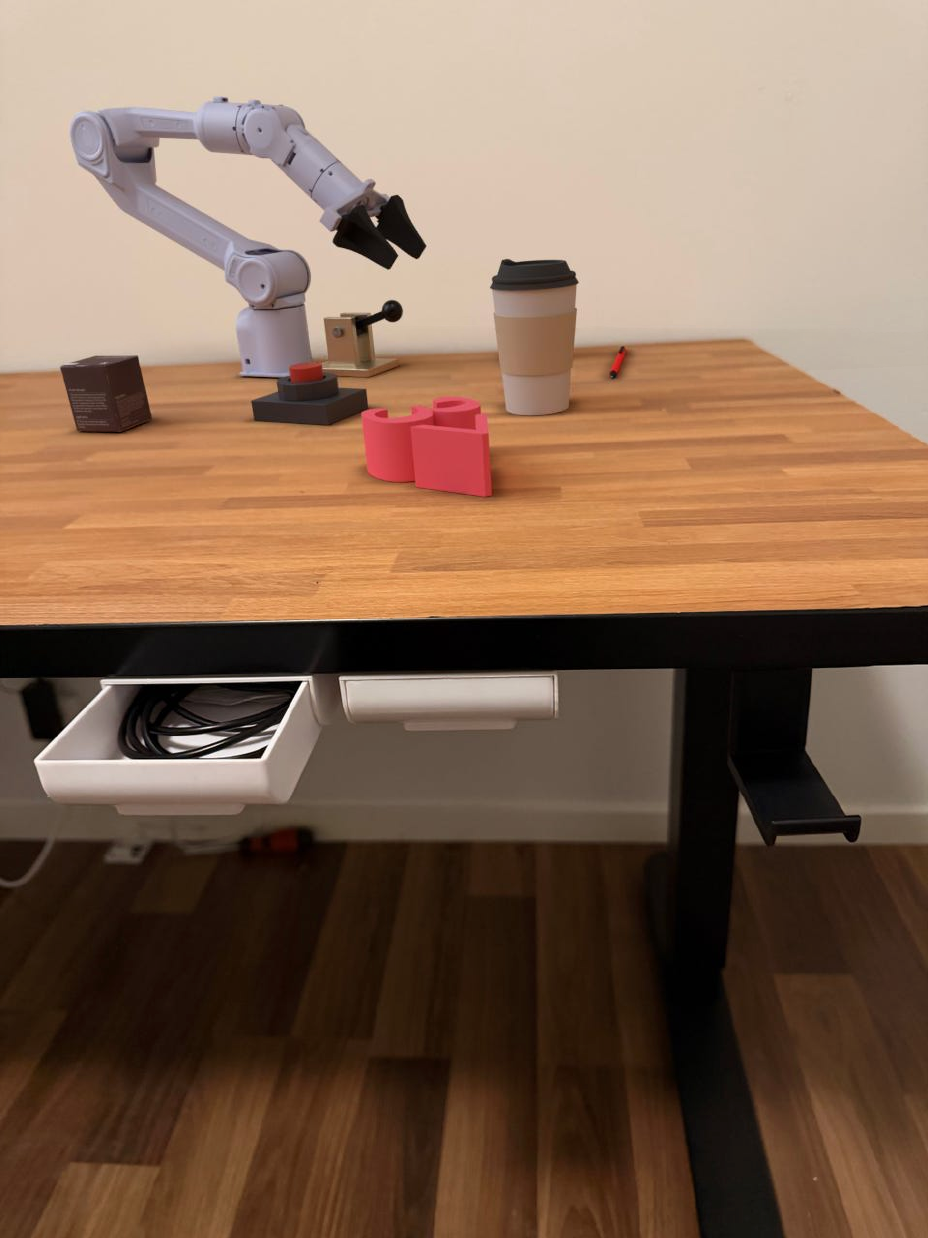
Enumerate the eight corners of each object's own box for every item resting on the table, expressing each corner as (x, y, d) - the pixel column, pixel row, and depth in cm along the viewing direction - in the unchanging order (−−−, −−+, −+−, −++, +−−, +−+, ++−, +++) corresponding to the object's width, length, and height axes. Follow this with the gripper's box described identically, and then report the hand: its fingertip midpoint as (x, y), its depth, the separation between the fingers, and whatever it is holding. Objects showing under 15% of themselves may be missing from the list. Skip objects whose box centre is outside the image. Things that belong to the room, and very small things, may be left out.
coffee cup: (590, 399, 99) (590, 252, 92) (563, 419, 91) (561, 261, 85) (514, 397, 102) (509, 255, 96) (482, 415, 95) (474, 264, 88)
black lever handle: (409, 316, 118) (402, 295, 118) (399, 319, 116) (391, 298, 115) (350, 340, 124) (342, 320, 123) (339, 344, 122) (331, 323, 121)
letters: (541, 484, 72) (540, 422, 70) (428, 510, 68) (422, 445, 66) (461, 448, 84) (457, 394, 82) (359, 468, 80) (353, 412, 78)
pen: (626, 352, 124) (626, 343, 124) (615, 380, 108) (615, 370, 107) (620, 352, 125) (620, 344, 124) (608, 380, 108) (608, 371, 108)
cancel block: (254, 420, 100) (248, 383, 98) (296, 404, 106) (291, 369, 104) (328, 425, 95) (323, 387, 94) (368, 408, 102) (364, 372, 100)
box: (154, 420, 103) (140, 354, 100) (119, 433, 98) (104, 364, 95) (110, 419, 105) (95, 354, 102) (75, 432, 100) (58, 364, 97)
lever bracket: (399, 365, 125) (394, 310, 122) (368, 377, 119) (362, 319, 116) (339, 363, 129) (333, 310, 126) (306, 374, 123) (299, 319, 120)
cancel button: (284, 384, 98) (282, 368, 98) (303, 377, 101) (301, 361, 101) (311, 385, 97) (309, 368, 96) (330, 378, 100) (328, 362, 99)
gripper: (309, 158, 104) (396, 239, 104) (371, 149, 115) (449, 222, 115) (284, 209, 108) (367, 287, 109) (346, 196, 119) (421, 266, 120)
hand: (407, 257), depth 112 cm, fingers open, 7 cm apart
